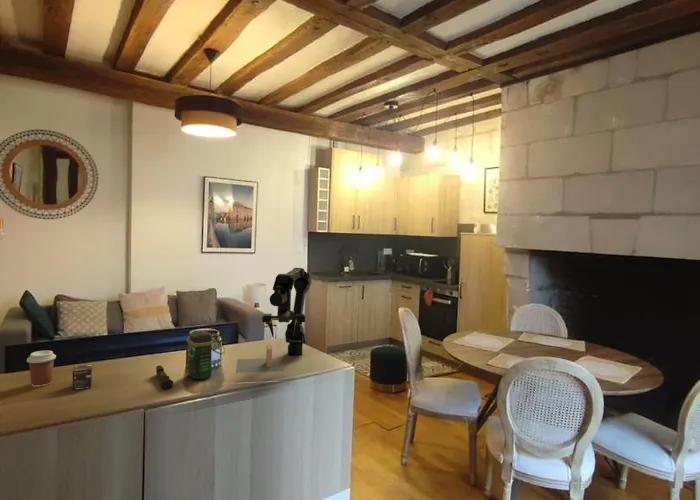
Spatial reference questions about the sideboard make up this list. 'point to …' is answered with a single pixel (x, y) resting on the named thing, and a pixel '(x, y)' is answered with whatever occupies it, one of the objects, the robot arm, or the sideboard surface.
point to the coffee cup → (41, 367)
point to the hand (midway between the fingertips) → (283, 337)
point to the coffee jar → (200, 355)
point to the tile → (268, 355)
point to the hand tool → (163, 378)
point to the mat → (258, 365)
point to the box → (82, 376)
